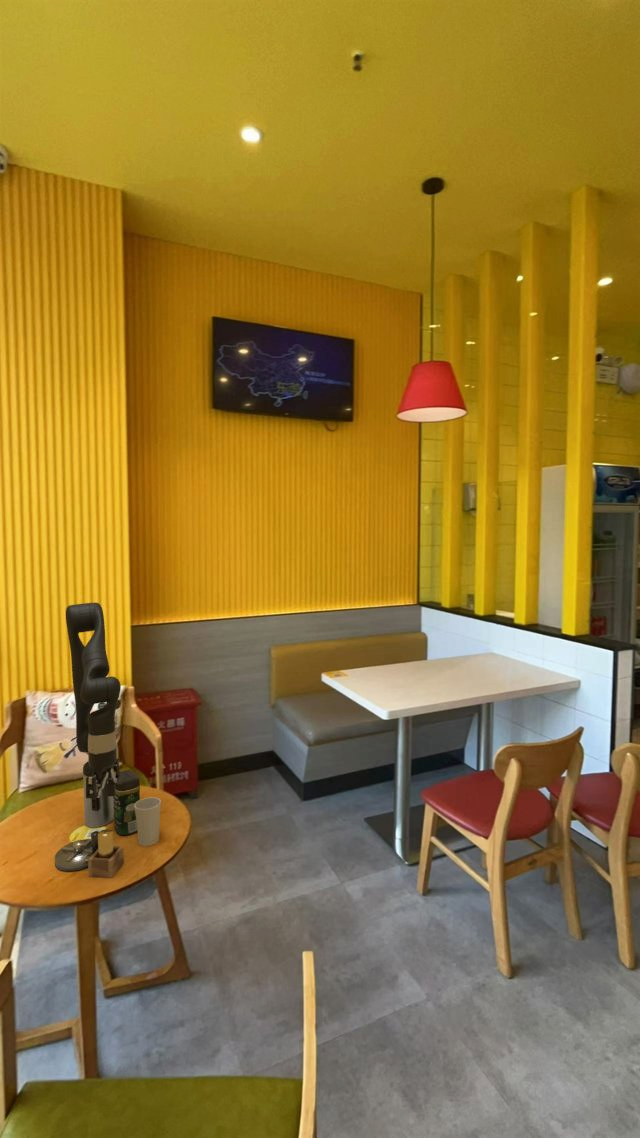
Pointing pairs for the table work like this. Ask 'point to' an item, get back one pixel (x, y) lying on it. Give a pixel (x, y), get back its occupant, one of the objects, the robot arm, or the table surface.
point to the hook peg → (105, 843)
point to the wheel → (76, 854)
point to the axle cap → (78, 845)
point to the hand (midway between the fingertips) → (104, 802)
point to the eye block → (106, 863)
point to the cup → (148, 820)
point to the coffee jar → (126, 802)
